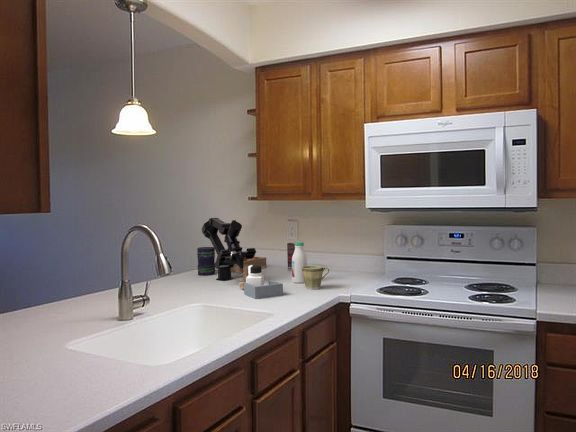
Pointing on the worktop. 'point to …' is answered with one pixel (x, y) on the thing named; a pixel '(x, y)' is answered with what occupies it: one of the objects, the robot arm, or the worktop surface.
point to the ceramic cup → (313, 276)
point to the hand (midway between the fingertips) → (242, 268)
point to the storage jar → (206, 261)
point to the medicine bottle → (255, 275)
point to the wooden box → (257, 261)
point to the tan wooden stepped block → (244, 277)
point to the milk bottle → (298, 263)
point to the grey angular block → (264, 290)
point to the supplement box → (290, 254)
